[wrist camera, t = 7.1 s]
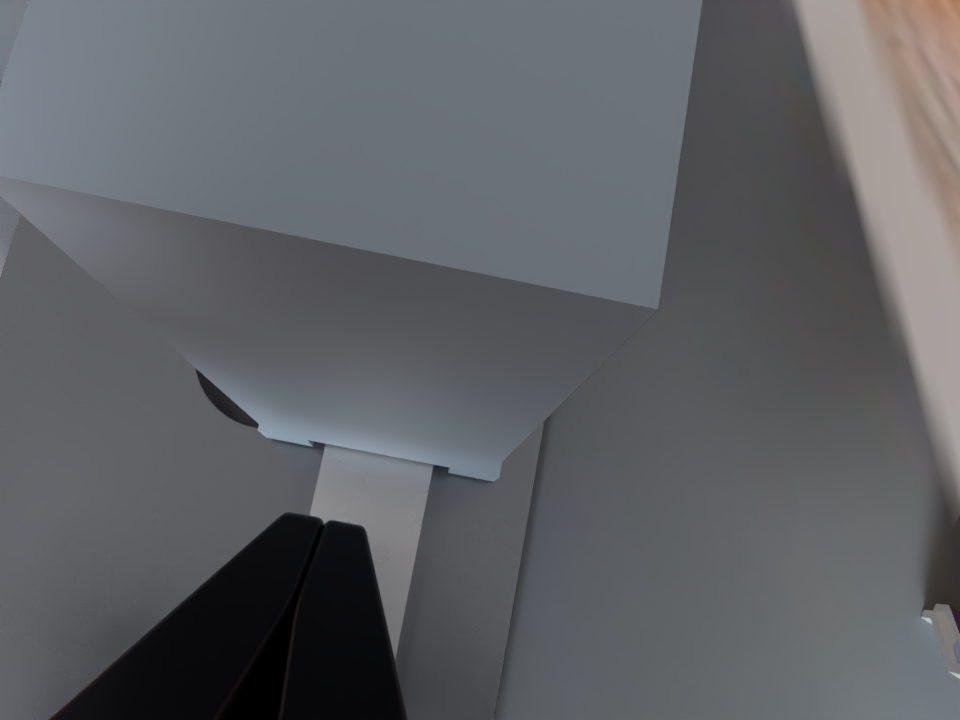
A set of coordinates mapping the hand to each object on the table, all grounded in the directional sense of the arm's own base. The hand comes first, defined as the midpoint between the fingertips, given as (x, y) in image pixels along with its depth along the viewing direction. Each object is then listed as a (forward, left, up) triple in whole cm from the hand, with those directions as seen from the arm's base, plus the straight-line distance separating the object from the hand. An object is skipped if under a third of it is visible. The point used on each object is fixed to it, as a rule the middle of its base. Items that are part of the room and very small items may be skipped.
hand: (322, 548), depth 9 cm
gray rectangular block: (+2, +3, -7) cm, 8 cm away
